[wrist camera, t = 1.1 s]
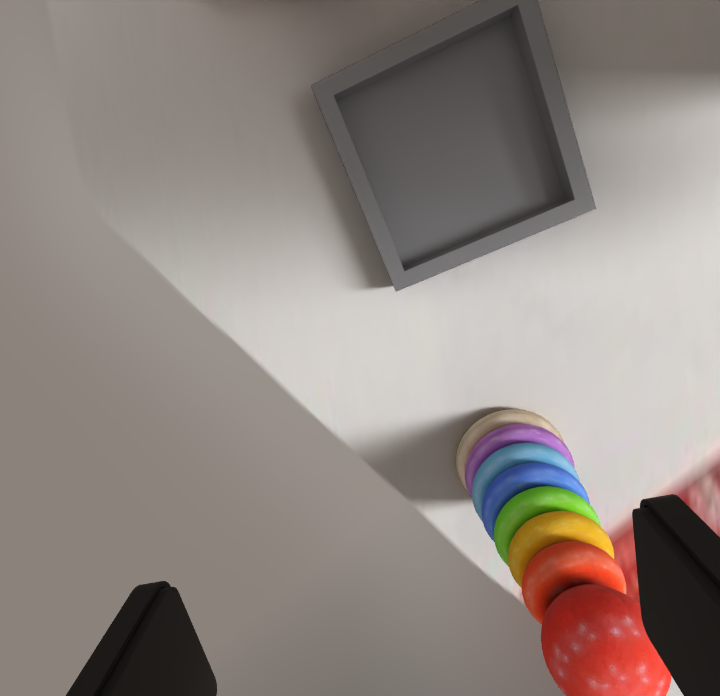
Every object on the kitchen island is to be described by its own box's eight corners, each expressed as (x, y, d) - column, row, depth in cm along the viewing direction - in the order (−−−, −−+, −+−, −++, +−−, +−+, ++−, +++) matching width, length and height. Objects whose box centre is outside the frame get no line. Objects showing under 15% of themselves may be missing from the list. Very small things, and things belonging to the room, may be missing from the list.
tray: (315, 93, 30) (310, 85, 27) (518, -8, 28) (530, -25, 26) (394, 285, 33) (395, 291, 31) (581, 208, 31) (595, 208, 29)
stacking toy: (432, 449, 36) (484, 688, 19) (517, 384, 35) (664, 579, 17) (497, 516, 38) (602, 796, 20) (581, 456, 36) (779, 706, 18)
